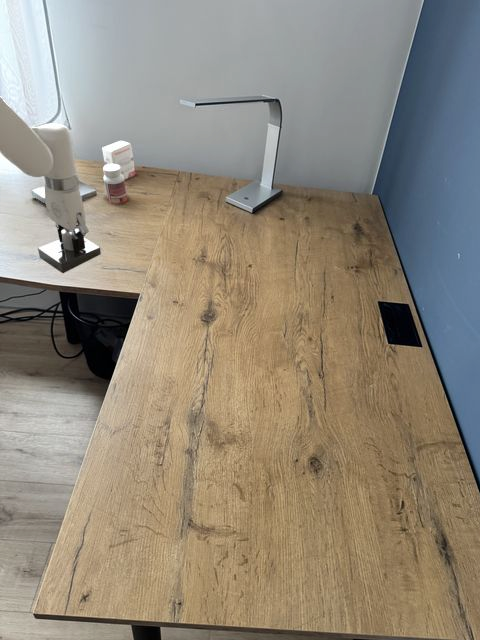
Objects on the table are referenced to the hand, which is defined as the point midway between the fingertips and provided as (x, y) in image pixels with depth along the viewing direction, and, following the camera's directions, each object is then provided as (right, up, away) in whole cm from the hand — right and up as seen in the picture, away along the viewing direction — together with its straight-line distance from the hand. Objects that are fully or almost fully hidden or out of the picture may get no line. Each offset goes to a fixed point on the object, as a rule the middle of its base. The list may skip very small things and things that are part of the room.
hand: (72, 244), depth 133 cm
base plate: (-1, -3, +2) cm, 4 cm away
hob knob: (0, 0, 0) cm, 0 cm away
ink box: (+3, +30, +37) cm, 47 cm away
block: (-12, +20, +25) cm, 34 cm away
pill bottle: (+4, +19, +26) cm, 32 cm away
